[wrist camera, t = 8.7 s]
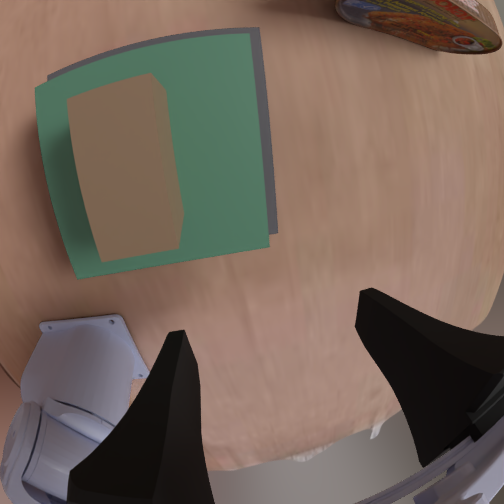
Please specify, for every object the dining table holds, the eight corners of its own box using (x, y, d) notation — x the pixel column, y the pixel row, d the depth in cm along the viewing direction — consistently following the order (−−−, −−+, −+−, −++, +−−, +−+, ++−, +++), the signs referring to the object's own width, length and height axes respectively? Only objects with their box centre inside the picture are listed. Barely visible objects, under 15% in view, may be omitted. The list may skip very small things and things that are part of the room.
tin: (316, 18, 13) (383, -27, 6) (310, -13, 12) (368, -65, 4) (451, 58, 15) (518, 59, 8) (446, 32, 14) (511, 26, 6)
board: (82, 270, 14) (50, 323, 9) (43, 89, 9) (-12, 82, 5) (265, 239, 15) (293, 288, 11) (246, 39, 10) (270, -2, 6)
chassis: (89, 260, 18) (70, 288, 14) (54, 77, 11) (24, 70, 8) (274, 228, 19) (291, 252, 16) (256, 32, 13) (271, 9, 10)
